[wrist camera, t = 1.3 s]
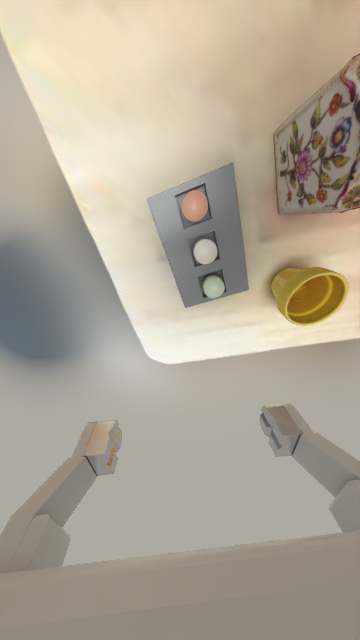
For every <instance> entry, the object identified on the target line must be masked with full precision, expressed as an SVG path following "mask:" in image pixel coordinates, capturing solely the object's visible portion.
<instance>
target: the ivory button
mask: <svg viewBox="0 0 360 640" xmlns="http://www.w3.org/2000/svg"><path fill="white" fill-rule="evenodd" d="M193 252H194V256H195V258H196V260H197V261H198V262H199V263H201V264H209V263H211V262H213V261H214V259H215V258H216V256H217V247H216V245H215V243H214V242H212V241H211V240H210V239H208V238H202V239H199V240H198V241H197V242H196V243H195V245H194V248H193Z"/></svg>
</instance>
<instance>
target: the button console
mask: <svg viewBox="0 0 360 640" xmlns="http://www.w3.org/2000/svg"><path fill="white" fill-rule="evenodd" d="M193 190H198V191H201V192H202V193H203V194H204V195H205V196H206V198H207V201H208V210H207V213H206V215H205V216H204V217H203V218H202V219H201V220H199V221H196V222H193V221H190V220H188V219H186V218H185V216H184V214H183V212H182V202H183V199H184V197H185V196H186V194H187V193H189V192H190V191H193ZM147 201H148V204H149V207H150V210H151V213H152V215H153V218H154V221H155V224H156V227H157V229H158V232H159V235H160V238H161V241H162V244H163V246H164V249H165V252H166V255H167V258H168V261H169V263H170V266H171V269H172V272H173V275H174V277H175V280H176V283H177V286H178V289H179V292H180V294H181V297H182V300H183V303H184V306H185V308H187V307H190V306H194V305H197V304H201V303H204V302H208V301H211V300H215V299H218V298H221V297H225V296H228V295H232V294H235V293H239V292H242V291H246V290H249V288H248V280H247V272H246V263H245V255H244V247H243V239H242V231H241V223H240V215H239V207H238V199H237V191H236V183H235V175H234V167H233V163H230V164H228V165H226V166H223V167H221V168H219V169H216V170H214V171H212V172H209V173H207V174H205V175H202V176H200V177H197V178H195V179H193V180H190V181H188V182H186V183H183V184H181V185H179V186H176V187H174V188H172V189H169V190H167V191H165V192H162V193H160V194H158V195H155V196H153V197H150V198H148V199H147ZM202 238H208V239H210V240H211V241H212V242H214V243H215V245H216V247H217V256H216V258H215V259H214V261H213V262H211V263H209V264H201V263H199V262H198V261H197V260H196V258H195V256H194V252H193V248H194V245H195V243H196V242H197V241H198V240H199V239H202ZM210 274H216V275H218V276H219V277H220V278H221V280H222V281H223V283H224V285H225V290H224V292H223V294H222V295H221V296H219V297H217V298H210V297H208V296H207V295H206V294H205V292H204V289H203V280H204V278H205V277H206V276H208V275H210Z"/></svg>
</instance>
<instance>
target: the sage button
mask: <svg viewBox="0 0 360 640" xmlns="http://www.w3.org/2000/svg"><path fill="white" fill-rule="evenodd" d="M203 289H204V292H205V294H206V295H207V296H208V297H210V298H217V297H219V296H221V295H222V294H223V292H224V290H225V285H224V283H223V281H222V280H221V278H220V277H219V276H218V275H216V274H210V275H208V276H206V277H205V278H204V280H203Z"/></svg>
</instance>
